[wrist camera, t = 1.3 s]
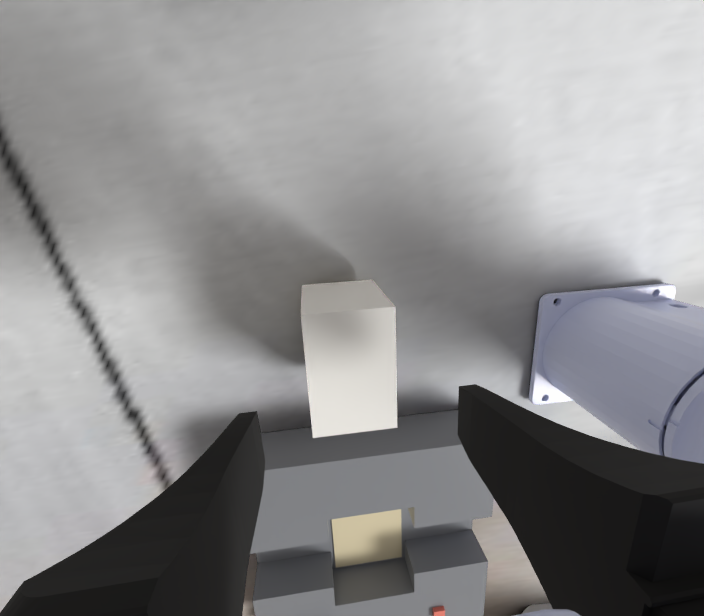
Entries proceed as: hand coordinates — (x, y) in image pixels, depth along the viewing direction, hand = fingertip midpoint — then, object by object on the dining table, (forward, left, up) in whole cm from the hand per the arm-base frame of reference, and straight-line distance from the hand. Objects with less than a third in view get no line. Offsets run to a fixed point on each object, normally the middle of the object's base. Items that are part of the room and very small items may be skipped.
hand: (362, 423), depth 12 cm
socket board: (-1, +15, -10) cm, 18 cm away
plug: (0, 0, -10) cm, 10 cm away
